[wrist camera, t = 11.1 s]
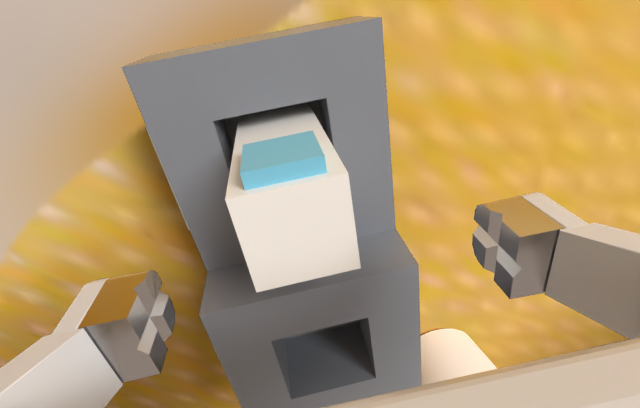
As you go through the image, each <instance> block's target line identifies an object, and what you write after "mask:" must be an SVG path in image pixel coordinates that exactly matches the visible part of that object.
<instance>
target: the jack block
mask: <svg viewBox="0 0 640 408" xmlns="http://www.w3.org/2000/svg"><path fill="white" fill-rule="evenodd" d="M122 69H123V72H124V74H125V76H126V79H127V81H128V83H129V86H130V88H131V91H132V93H133V95H134V98H135V100H136V103H137V105H138V107H139V110H140V112H141V115H142V117H143V119H144V122H145V124H146V127H145V128H146V130H147V133H148V135H149V137H150V140H151V142H152V144H153V147H154V149H155V152H156V154H157V156H158V159H159V161H160V163H161V166H162V168H163V171H164V173H165V175H166V178H167V180H168V182H169V185H170V187H171V190H172V192H173V194H174V197H175V199H176V202H177V204H178V206H179V209H180V211H181V213H182V216H183V218H184V221H185V223H186V225H187V228H188V230H190V232H191V234H192V237H193V239H194V241H195V244H196V246H197V249H198V251H199V253H200V256H201V258H202V261H203V263H204V265H205V268H206V270H207V276H206V282H205V287H204V292H203V297H202V303H201V308H200V313H199V317H200V319H201V321H202V323H203V325H204V328H205V330H206V332H207V334H208V336H209V338H210V340H211V342H212V345H213V348H214V350H215V352H216V354H217V356H218V358H219V360H220V362H221V365H222V367H223V369H224V371H225V373H226V375H227V377H228V379H229V382H230V384H231V386H232V388H233V390H234V392H235V394H236V396H237V398H238V401H239V403H240V405H241V407H242V408H322V407H326V406H331V405H335V404H340V403H344V402H349V401H354V400H358V399H363V398H367V397H372V396H376V395H381V394H385V393H390V392H394V391H399V390H403V389H408V388H412V387H417V386H421V385H422V375H421V340H420V306H419V271H418V263H417V261H416V260H415V258H414V257H413V255H412V254H411V252H410V251H409V249H408V247H407V246H406V244H405V243H404V241H403V240H402V238H401V237H400V235H399V233H398V232H397V230H396V227H395V211H394V196H393V181H392V166H391V151H390V135H389V120H388V105H387V90H386V75H385V60H384V44H383V29H382V17H361V16H355V17H350V18H345V19H340V20H334V21H329V22H324V23H319V24H313V25H308V26H303V27H298V28H293V29H287V30H282V31H277V32H272V33H266V34H261V35H256V36H251V37H245V38H241V39H235V40H230V41H225V42H219V43H214V44H209V45H204V46H198V47H193V48H188V49H183V50H177V51H172V52H167V53H162V54H156V55H151V56H148V57H146V58H143V59H141V60H138V61H136V62H133V63H131V64H129V65H126V66H124V67H122ZM306 102H308V103H309V105H310V107H311V109H312V110H313V112H314V114H315V116H316V117H317V119H318V121H319V123H320V124H321V126H322V128H323V130H324V131H325V133H326V135H327V137H328V138H329V140H330V142H331V144H332V145H333V147H334V149H335V151H336V152H337V154H338V156H339V158H340V159H341V161H342V163H343V165H344V166H345V168H346V170H347V172H348V175H349V182H350V190H351V197H352V205H353V212H354V220H355V227H356V235H357V242H358V250H359V258H360V265H361V268H360V269H355V270H351V271H347V272H342V273H338V274H334V275H330V276H325V277H321V278H317V279H312V280H308V281H304V282H300V283H295V284H291V285H287V286H282V287H278V288H274V289H269V290H265V291H261V292H257V293H256V290H255V287H254V284H253V281H252V278H251V275H250V272H249V269H248V266H247V263H246V260H245V257H244V254H243V251H242V248H241V245H240V242H239V239H238V237H237V234H236V231H235V228H234V225H233V222H232V219H231V216H230V213H229V210H228V207H227V204H226V201H225V197H226V191H227V185H228V179H229V173H230V167H231V161H232V155H233V149H234V143H235V137H236V131H237V125H238V119H239V116H242V115H247V114H252V113H257V112H262V111H267V110H272V109H277V108H282V107H287V106H291V105H296V104H301V103H306Z"/></svg>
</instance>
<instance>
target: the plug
mask: <svg viewBox="0 0 640 408" xmlns="http://www.w3.org/2000/svg"><path fill="white" fill-rule="evenodd" d="M225 201H226V204H227V207H228V210H229V213H230V216H231V219H232V222H233V225H234V228H235V231H236V234H237V237H238V239H239V242H240V245H241V248H242V251H243V254H244V257H245V260H246V263H247V266H248V269H249V272H250V275H251V278H252V281H253V284H254V287H255V290H256V293H257V292H261V291H265V290H269V289H274V288H278V287H282V286H287V285H291V284H295V283H300V282H304V281H308V280H312V279H317V278H321V277H325V276H330V275H334V274H338V273H342V272H347V271H351V270H355V269H360V268H361V265H360V258H359V250H358V242H357V235H356V227H355V220H354V212H353V205H352V197H351V190H350V182H349V175H348V172H347V170H346V168H345V166H344V165H343V163H342V161H341V159H340V158H339V156H338V154H337V152H336V151H335V149H334V147H333V145H332V144H331V142H330V140H329V138H328V137H327V135H326V133H325V131H324V130H323V128H322V126H321V124H320V123H319V121H318V119H317V117H316V116H315V114H314V112H313V110H312V109H311V107H310V105H309V103H308V102H306V103H301V104H296V105H291V106H287V107H282V108H277V109H272V110H267V111H262V112H257V113H252V114H247V115H242V116H239V119H238V125H237V131H236V137H235V143H234V149H233V155H232V161H231V167H230V173H229V179H228V185H227V191H226V197H225Z"/></svg>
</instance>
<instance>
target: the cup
mask: <svg viewBox="0 0 640 408" xmlns="http://www.w3.org/2000/svg"><path fill="white" fill-rule="evenodd" d="M420 340H421V375H422V385H426V384H430V383H435V382H439V381H444V380H448V379H453V378H457V377H462V376H466V375H471V374H475V373H480V372H484V371H489V370H493V369H497V368H496V367H495V365H494V364H493V363H492V362H491V361H490V360H489V359H488V358H487V356H486V355H485V354H484V353H483V352H482V351H481V350H480V349H479V347H478V346H477V345H476V344H475V343H474V342H473V341H472V339H471V338H470V337H469V336H468V335H467V334H466V333H464V332H462V331H460V330H457V329H439V330H434V331H431V332H428V333H425V334H423V335H421V336H420Z"/></svg>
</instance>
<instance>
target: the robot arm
mask: <svg viewBox="0 0 640 408" xmlns="http://www.w3.org/2000/svg"><path fill="white" fill-rule="evenodd" d="M474 220H475V221H476V222H477V223H478V224H479V226H478V228H477V229H476V230H475V231H474V233H473V242H472V245H473V249H474V253H475V256H476V258H477V260H478V261H479V263H480V264H481V265H482V267H483V268H484V269H487V270H489V271H491V272H494V273H495V275H494V281H495V282H496V283H497V285H498V286H499V287H500V288H501V289H502V290H503V292H504V293H505V294H506V295H507V296H508V297H509V299H513V298H519V297H524V296H530V295H535V294H540V293H545V295H547V296H549V297H551V298H552V299H554V300H556V301H558V302H560V303H562V304H564V305H566V306H568V307H570V308H571V309H573V310H575V311H577V312H579V313H581V314H583V315H585V316H587V317H588V318H590V319H592V320H594V321H596V322H598V323H600V324H602V325H604V326H605V327H607V328H609V329H611V330H613V331H615V332H617V333H619V334H621V335H622V336H624V337H626V338H628V339H629V340H624V341H620V342H615V343H611V344H606V345H602V346H597V347H593V348H588V349H584V350H579V351H575V352H570V353H566V354H561V355H556V356H552V357H547V358H543V359H538V360H534V361H529V362H525V363H520V364H516V365H511V366H507V367H502V368H498V369H493V370H489V371H484V372H480V373H475V374H471V375H466V376H462V377H457V378H453V379H448V380H444V381H439V382H435V383H430V384H426V385H421V386H417V387H412V388H408V389H403V390H399V391H394V392H390V393H385V394H381V395H376V396H372V397H367V398H363V399H358V400H354V401H349V402H344V403H340V404H335V405H331V406H326V407H322V408H640V234H638V233H634V232H630V231H626V230H622V229H618V228H614V227H610V226H606V225H602V224H598V223H591V224H588V223H586V222H585V221H583V220H582V219H580V218H579V217H577V216H575V215H574V214H572V213H571V212H569V211H568V210H566V209H565V208H563V207H562V206H560V205H559V204H557V203H556V202H554V201H553V200H551V199H550V198H548V197H547V196H545V195H544V194H542V193H539V192H533V193H528V194H524V195H520V196H516V197H513V198H508V199H504V200H499V201H494V202H490V203H485V204H480V205H477V207H476V210H475V215H474ZM161 285H162V281H161V279H160V277H159V276H158V274H157V272H155V271H152V270H149V271H144V272H138V273H133V274H127V275H122V276H116V277H111V278H105V279H100V280H95V281H91V282H89V283H87V284H85V285H84V286H83V288H82V289H81V291H80V292H79V294H78V295H77V297H76V298H75V300H74V301H73V303H72V304H71V306H70V307H69V309H68V310H67V312H66V313H65V315H64V316H63V318H62V319H61V321H60V322H59V324H58V325H57V327H56V328H55V330H54V331H53V333H52V334H51V335H47V336H43V337H42V338H41V339H39V340H38V341H37V342H35V343H34V344H33V345H31V346H30V347H29V348H27V349H26V350H25V351H23V352H22V353H20V354H19V355H18V356H16V357H15V358H14V359H12V360H11V361H10V362H8V363H7V364H6V365H4V366H3V367H1V368H0V408H105V406H106V405H107V404H108V403H109V401H110V400H111V399H112V398H113V397H114V395H115V394H116V393H117V392H118V390H119V389H120V388H121V387H122V386H123V383H124V382H128V381H132V380H136V379H140V378H145V377H149V376H153V375H157V374H160V373H161V370H162V366H163V363H164V360H165V356H166V353H167V347H166V345H165V343H164V341H165V340H166V339H167V338H168V337H169V336H170V335H171V334H172V332H173V328H174V324H175V311H174V307H173V303H172V301H171V299H170V297H169V296H168V295H167V294H165V293H163V292H161V291H160V287H161Z"/></svg>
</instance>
